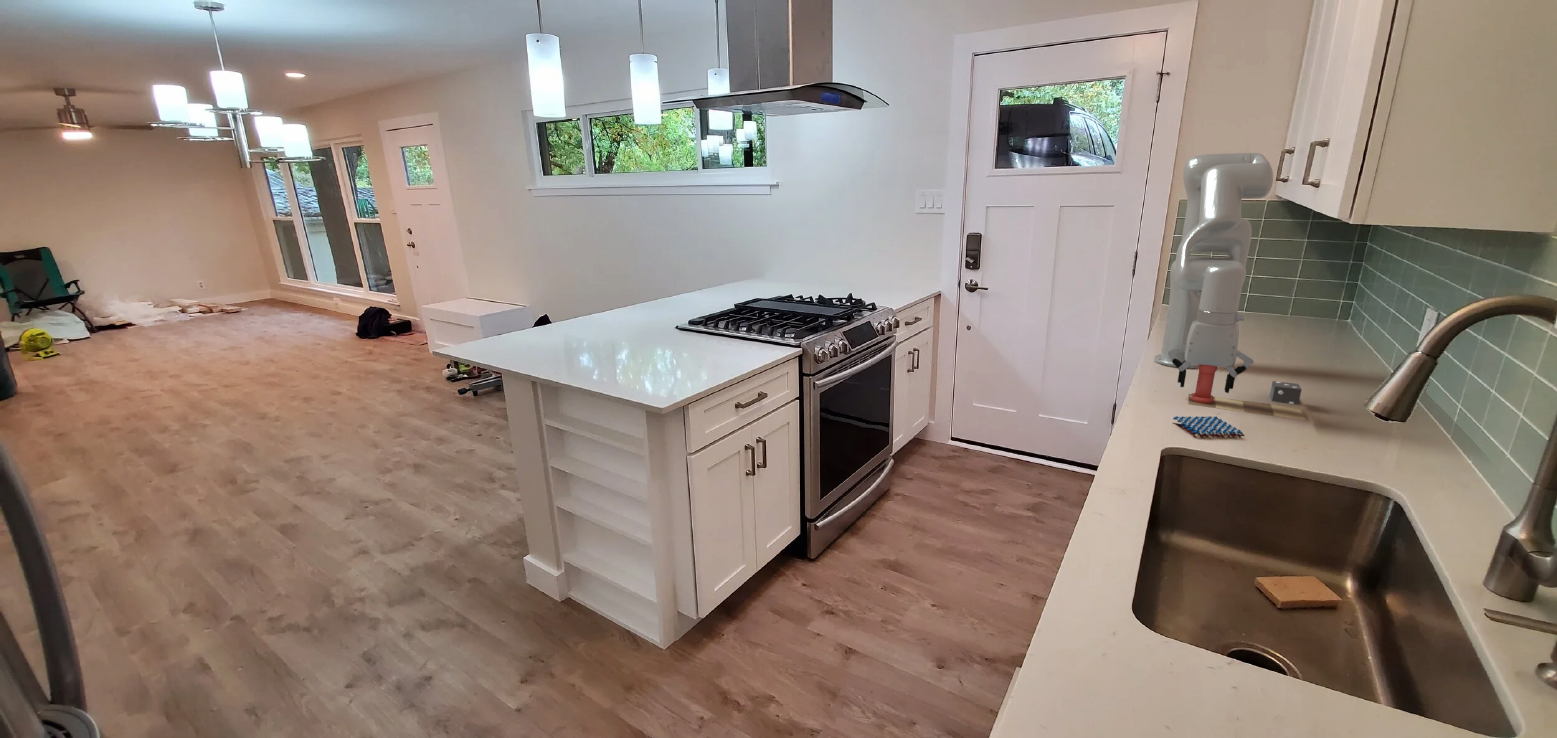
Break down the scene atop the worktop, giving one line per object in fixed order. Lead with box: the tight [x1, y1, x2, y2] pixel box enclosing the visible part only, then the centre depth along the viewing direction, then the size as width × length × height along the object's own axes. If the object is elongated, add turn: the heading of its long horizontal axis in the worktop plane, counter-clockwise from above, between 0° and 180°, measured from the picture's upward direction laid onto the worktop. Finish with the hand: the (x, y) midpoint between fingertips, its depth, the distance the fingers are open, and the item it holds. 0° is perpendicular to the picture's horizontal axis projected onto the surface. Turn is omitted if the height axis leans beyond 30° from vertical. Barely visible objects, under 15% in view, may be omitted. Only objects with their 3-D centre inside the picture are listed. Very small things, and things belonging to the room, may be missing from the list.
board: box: [1187, 393, 1306, 421], centre depth 149 cm, size 9×22×1 cm, turn 58°
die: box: [1269, 380, 1302, 405], centre depth 152 cm, size 5×5×5 cm
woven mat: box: [1172, 415, 1245, 440], centre depth 138 cm, size 10×11×2 cm
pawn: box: [1190, 365, 1218, 404], centre depth 152 cm, size 5×5×10 cm
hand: (1203, 388), depth 152 cm, fingers open, 8 cm apart
